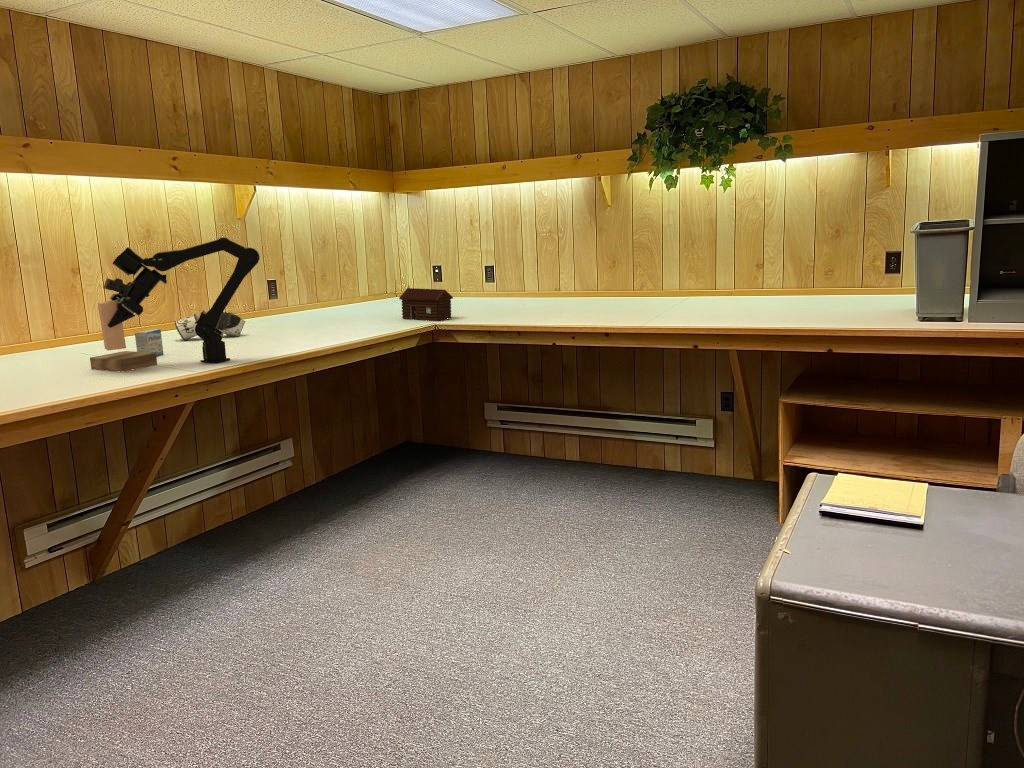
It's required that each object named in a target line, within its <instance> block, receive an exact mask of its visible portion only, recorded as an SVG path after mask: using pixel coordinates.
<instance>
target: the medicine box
mask: <svg viewBox="0 0 1024 768" xmlns="http://www.w3.org/2000/svg"><path fill="white" fill-rule="evenodd" d="M134 339H135V347H136V352H147V353H156V357H159V356H162V355H164V346H163V338H162V329H160V328H151V329H146V330H142V331H137V332H134Z"/></svg>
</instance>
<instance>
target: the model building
mask: <svg viewBox="0 0 1024 768" xmlns="http://www.w3.org/2000/svg"><path fill="white" fill-rule="evenodd" d="M453 299H454V297H453V296H452V294H450V292H448V291H447V290H446V289H441V288H436V289H435V288H415V287H414V288H411V287H410V284H407V288H406V289H405V290H404V291H403V292H402V294H401V295H400V296H399V300H400V301H401V312H402V313H401V315H402V316H401V318H402V320H413V319H414V321H426V320H427V321H428V320H429V322H440V320H442V321H445V320H444V319H447V318H451V317H452V301H451V300H453ZM451 319H452V318H451ZM447 320H448V319H447ZM427 321H426V322H427Z"/></svg>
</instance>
